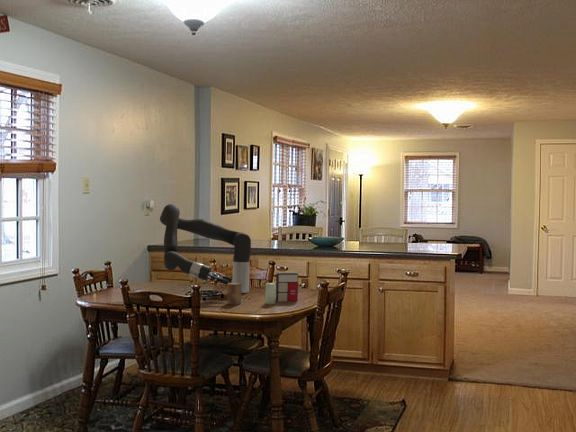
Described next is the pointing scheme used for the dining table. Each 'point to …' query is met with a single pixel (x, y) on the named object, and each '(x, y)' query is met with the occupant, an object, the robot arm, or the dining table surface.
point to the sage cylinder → (270, 293)
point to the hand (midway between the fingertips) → (229, 281)
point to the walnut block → (234, 293)
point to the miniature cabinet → (286, 287)
